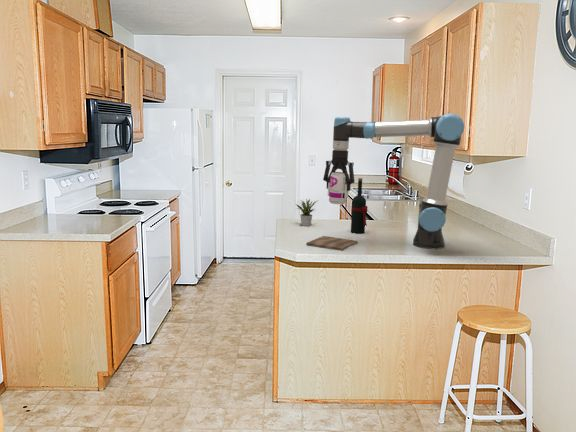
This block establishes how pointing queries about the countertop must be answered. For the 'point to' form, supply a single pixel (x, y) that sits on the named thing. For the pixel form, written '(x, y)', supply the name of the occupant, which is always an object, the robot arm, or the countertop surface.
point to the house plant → (306, 213)
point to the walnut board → (332, 243)
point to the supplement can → (337, 188)
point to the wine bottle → (358, 211)
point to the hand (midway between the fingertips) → (337, 196)
